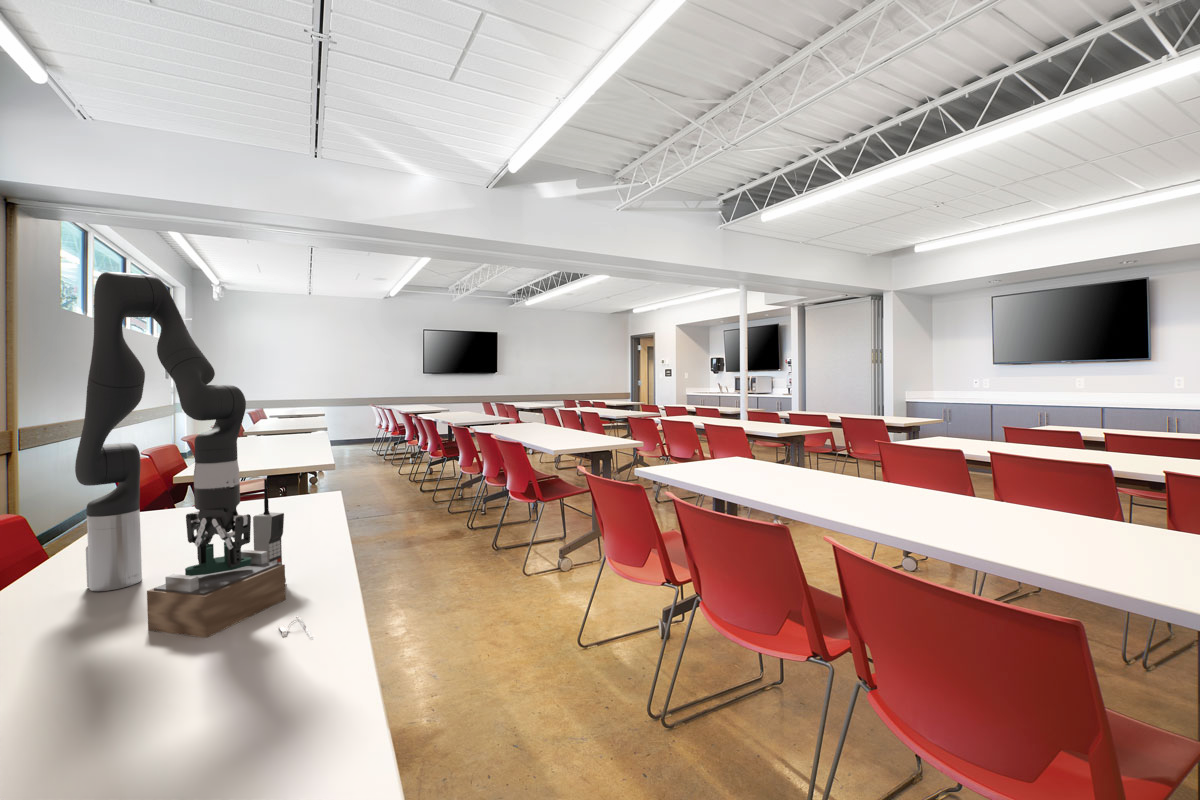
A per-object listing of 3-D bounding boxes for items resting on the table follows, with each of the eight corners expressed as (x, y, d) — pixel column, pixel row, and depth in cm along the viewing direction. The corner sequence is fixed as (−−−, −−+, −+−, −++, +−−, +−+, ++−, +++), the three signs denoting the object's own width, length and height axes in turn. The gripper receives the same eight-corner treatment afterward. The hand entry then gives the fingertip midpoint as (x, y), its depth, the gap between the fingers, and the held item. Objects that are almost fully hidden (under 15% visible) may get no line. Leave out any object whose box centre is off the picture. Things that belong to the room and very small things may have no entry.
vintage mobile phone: (273, 589, 122) (270, 480, 121) (254, 588, 123) (251, 479, 122) (286, 583, 125) (283, 477, 125) (268, 582, 126) (265, 477, 126)
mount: (184, 578, 103) (184, 552, 103) (185, 571, 107) (185, 547, 107) (252, 566, 110) (251, 542, 110) (250, 560, 113) (250, 537, 113)
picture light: (314, 642, 97) (314, 630, 97) (287, 649, 94) (287, 637, 94) (299, 617, 108) (298, 606, 108) (274, 623, 105) (273, 612, 105)
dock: (148, 630, 101) (146, 576, 101) (233, 594, 119) (232, 548, 119) (206, 637, 98) (205, 581, 98) (285, 599, 116) (284, 551, 115)
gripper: (170, 485, 106) (173, 568, 106) (229, 488, 103) (231, 573, 103) (206, 479, 113) (208, 556, 114) (262, 481, 110) (264, 561, 110)
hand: (219, 564), depth 108 cm, fingers closed on mount, 6 cm apart
